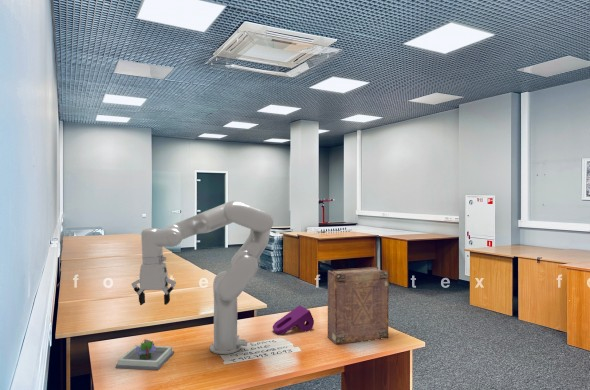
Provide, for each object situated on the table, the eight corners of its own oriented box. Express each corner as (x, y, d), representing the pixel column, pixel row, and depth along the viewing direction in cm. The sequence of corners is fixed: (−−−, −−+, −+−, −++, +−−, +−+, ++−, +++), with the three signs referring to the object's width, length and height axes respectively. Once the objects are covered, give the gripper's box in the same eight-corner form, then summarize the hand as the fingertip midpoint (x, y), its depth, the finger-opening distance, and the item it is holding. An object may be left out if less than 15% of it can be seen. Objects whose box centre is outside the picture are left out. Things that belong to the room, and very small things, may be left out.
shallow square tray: (174, 353, 161) (174, 346, 161) (157, 370, 146) (157, 362, 146) (135, 351, 163) (135, 344, 163) (115, 368, 148) (115, 360, 148)
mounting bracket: (285, 348, 182) (316, 325, 190) (278, 333, 180) (309, 310, 188) (276, 341, 190) (305, 319, 198) (269, 326, 188) (299, 305, 196)
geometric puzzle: (159, 355, 152) (155, 334, 156) (140, 359, 148) (137, 337, 152) (155, 361, 157) (151, 340, 161) (136, 365, 153) (133, 344, 157)
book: (377, 331, 188) (378, 266, 187) (388, 338, 179) (389, 270, 178) (327, 337, 180) (327, 270, 179) (335, 345, 171) (336, 274, 170)
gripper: (177, 258, 160) (179, 300, 161) (135, 258, 161) (137, 301, 162) (171, 261, 153) (172, 306, 153) (126, 262, 154) (128, 307, 154)
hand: (154, 303), depth 158 cm, fingers open, 9 cm apart
